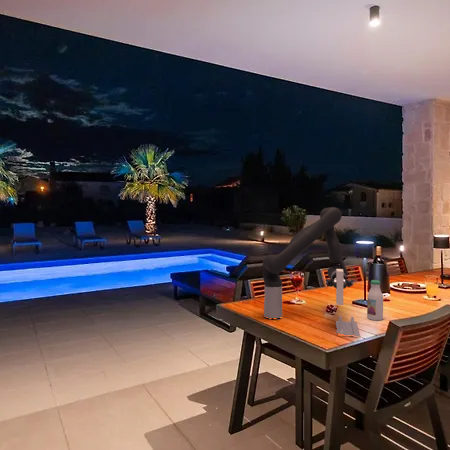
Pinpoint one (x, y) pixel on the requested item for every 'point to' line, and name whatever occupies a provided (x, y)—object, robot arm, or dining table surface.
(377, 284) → the milk bottle
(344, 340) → the dining table surface
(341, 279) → the grey rectangular block
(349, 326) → the door track
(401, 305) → the dining table surface
